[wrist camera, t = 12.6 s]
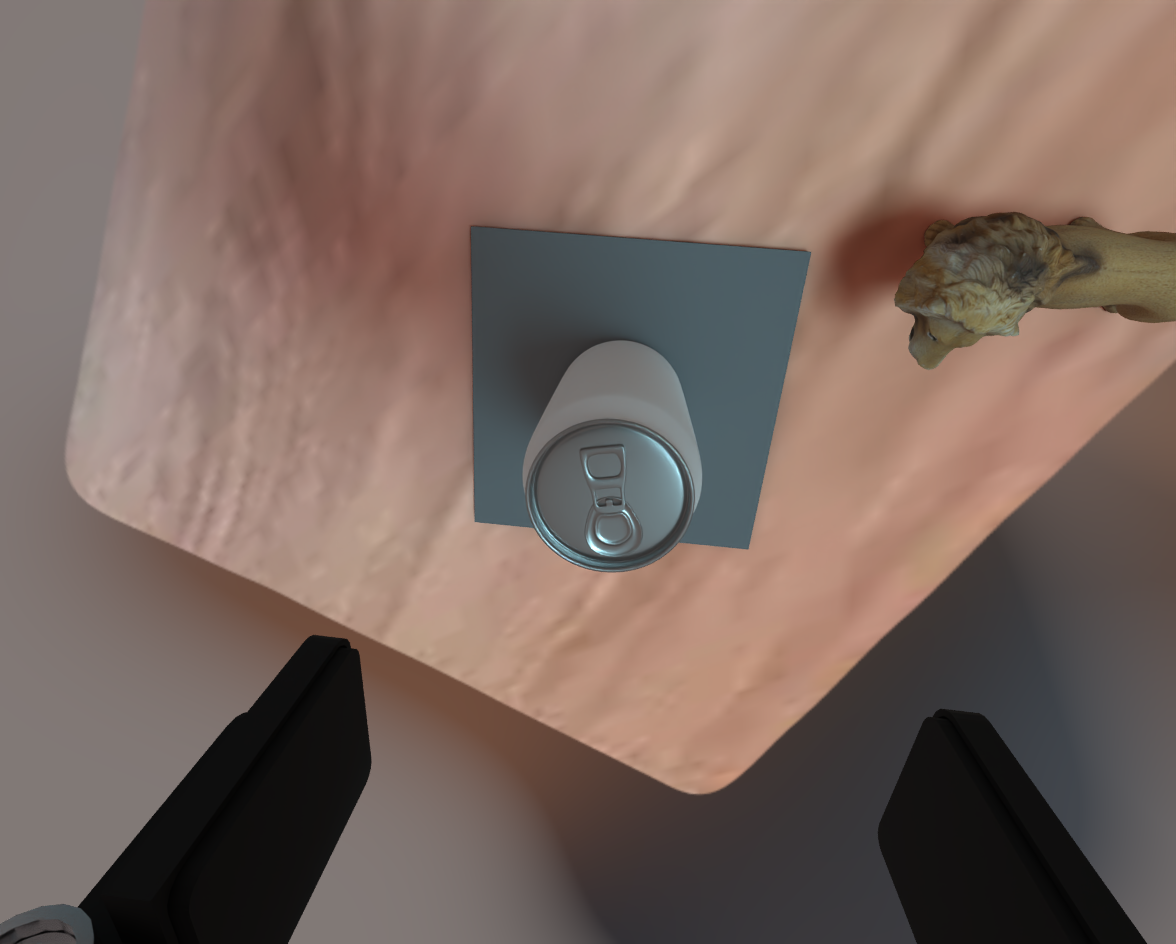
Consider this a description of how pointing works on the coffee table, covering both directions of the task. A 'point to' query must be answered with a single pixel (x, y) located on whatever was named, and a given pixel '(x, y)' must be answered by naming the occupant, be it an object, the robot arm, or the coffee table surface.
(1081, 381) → the coffee table surface
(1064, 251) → the lion figurine
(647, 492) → the can
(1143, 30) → the coffee table surface
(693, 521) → the mat
